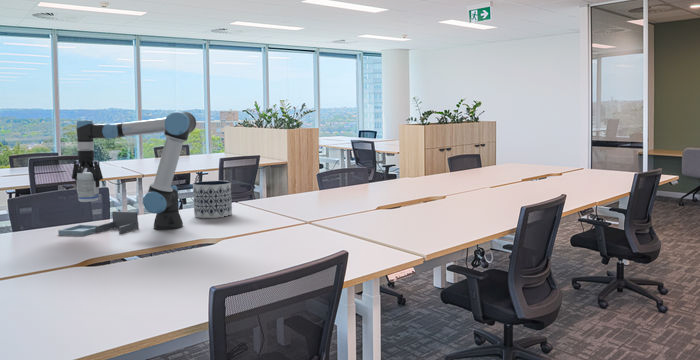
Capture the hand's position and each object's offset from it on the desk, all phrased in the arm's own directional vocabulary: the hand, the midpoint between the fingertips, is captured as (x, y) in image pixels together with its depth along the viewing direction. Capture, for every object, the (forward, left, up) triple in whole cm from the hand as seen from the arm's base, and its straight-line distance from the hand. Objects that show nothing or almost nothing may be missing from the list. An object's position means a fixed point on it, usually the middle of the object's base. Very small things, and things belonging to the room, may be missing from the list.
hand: (88, 193), depth 277 cm
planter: (-39, -59, -22) cm, 74 cm away
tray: (+6, 0, -21) cm, 22 cm away
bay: (-10, -8, -21) cm, 25 cm away
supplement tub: (0, 0, -4) cm, 4 cm away
